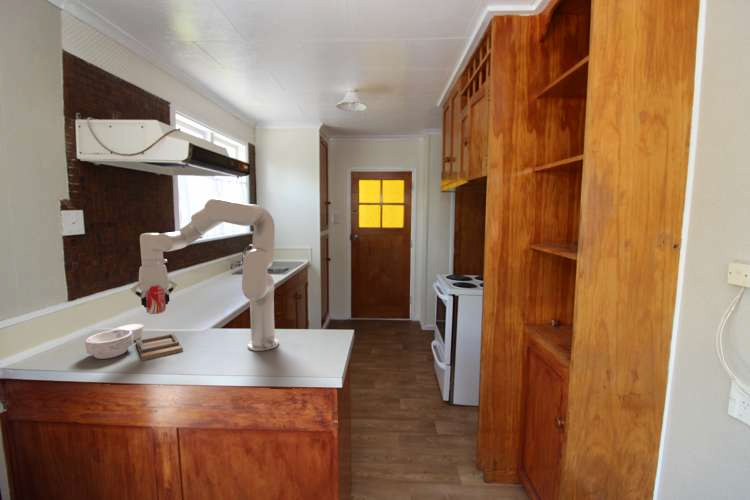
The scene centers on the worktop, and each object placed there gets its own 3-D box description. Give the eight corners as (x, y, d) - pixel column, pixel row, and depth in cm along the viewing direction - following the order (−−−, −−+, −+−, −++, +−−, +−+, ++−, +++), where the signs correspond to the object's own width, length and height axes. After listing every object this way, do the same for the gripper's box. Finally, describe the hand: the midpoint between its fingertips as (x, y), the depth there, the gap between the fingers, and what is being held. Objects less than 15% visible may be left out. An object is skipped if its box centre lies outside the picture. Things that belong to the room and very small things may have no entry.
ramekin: (109, 345, 150) (107, 333, 149) (119, 336, 160) (118, 325, 160) (138, 342, 153) (137, 330, 152) (147, 333, 163) (146, 322, 163)
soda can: (144, 312, 145) (142, 284, 144) (163, 309, 150) (161, 281, 149) (148, 316, 140) (146, 287, 139) (168, 312, 145) (166, 284, 144)
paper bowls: (76, 361, 133) (74, 341, 132) (111, 346, 148) (109, 328, 147) (111, 363, 131) (109, 343, 130) (143, 347, 146) (141, 329, 145)
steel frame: (179, 344, 146) (179, 342, 145) (142, 352, 137) (141, 349, 137) (173, 336, 156) (173, 333, 155) (138, 343, 147) (138, 340, 147)
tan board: (182, 351, 143) (182, 347, 142) (142, 360, 134) (141, 356, 134) (173, 336, 159) (173, 333, 159) (136, 343, 151) (136, 340, 151)
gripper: (175, 260, 151) (177, 300, 153) (126, 264, 140) (129, 306, 142) (178, 262, 145) (181, 303, 147) (127, 266, 134) (131, 311, 136)
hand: (155, 304), depth 144 cm, fingers closed on soda can, 7 cm apart
